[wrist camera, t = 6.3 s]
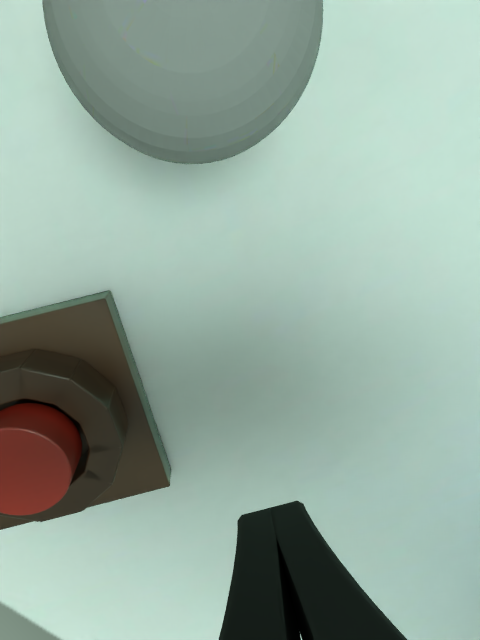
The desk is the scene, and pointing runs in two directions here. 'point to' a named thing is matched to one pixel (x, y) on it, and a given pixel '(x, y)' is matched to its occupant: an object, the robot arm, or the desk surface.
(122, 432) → the button block
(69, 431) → the button
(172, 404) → the desk surface
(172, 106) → the light bulb
